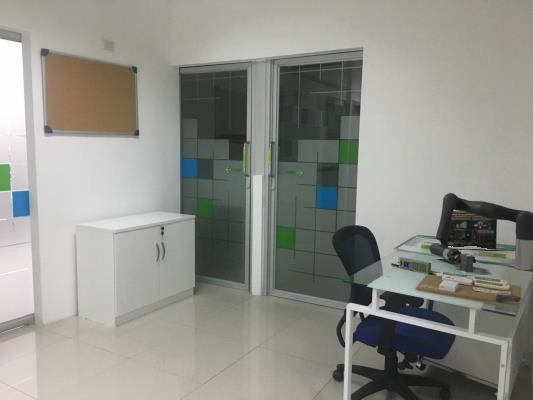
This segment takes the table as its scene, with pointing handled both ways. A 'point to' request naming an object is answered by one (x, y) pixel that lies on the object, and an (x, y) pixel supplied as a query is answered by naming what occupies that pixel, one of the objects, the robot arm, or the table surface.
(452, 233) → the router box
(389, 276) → the table surface
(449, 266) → the pale green flat block
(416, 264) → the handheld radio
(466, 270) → the block
